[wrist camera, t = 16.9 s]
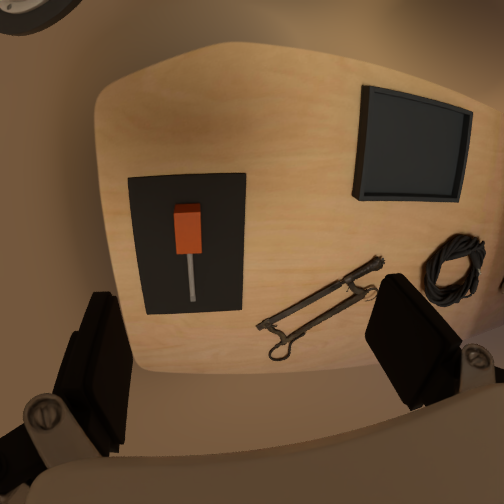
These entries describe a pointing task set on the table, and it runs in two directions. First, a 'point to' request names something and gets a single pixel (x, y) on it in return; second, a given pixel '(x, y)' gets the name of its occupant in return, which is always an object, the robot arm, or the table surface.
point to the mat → (212, 237)
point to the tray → (410, 148)
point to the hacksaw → (349, 279)
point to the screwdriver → (188, 236)
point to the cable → (449, 252)
